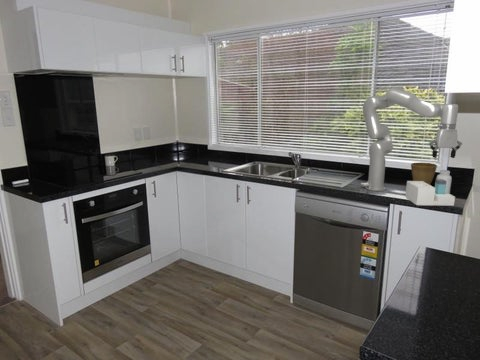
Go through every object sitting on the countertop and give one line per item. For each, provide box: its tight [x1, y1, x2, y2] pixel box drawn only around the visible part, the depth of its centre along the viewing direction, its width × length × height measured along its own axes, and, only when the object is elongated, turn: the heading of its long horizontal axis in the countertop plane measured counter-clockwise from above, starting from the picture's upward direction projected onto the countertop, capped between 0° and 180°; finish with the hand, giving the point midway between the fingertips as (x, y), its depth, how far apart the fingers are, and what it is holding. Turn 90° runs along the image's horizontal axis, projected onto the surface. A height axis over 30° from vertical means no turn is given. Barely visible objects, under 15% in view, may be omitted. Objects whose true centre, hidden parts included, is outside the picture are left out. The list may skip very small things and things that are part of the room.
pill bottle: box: [435, 169, 453, 194], centre depth 211 cm, size 8×8×15 cm
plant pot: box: [410, 162, 438, 185], centre depth 226 cm, size 15×15×16 cm
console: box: [405, 180, 456, 206], centre depth 199 cm, size 20×16×10 cm
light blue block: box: [434, 178, 446, 194], centre depth 198 cm, size 4×4×11 cm
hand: (443, 157), depth 194 cm, fingers open, 9 cm apart
